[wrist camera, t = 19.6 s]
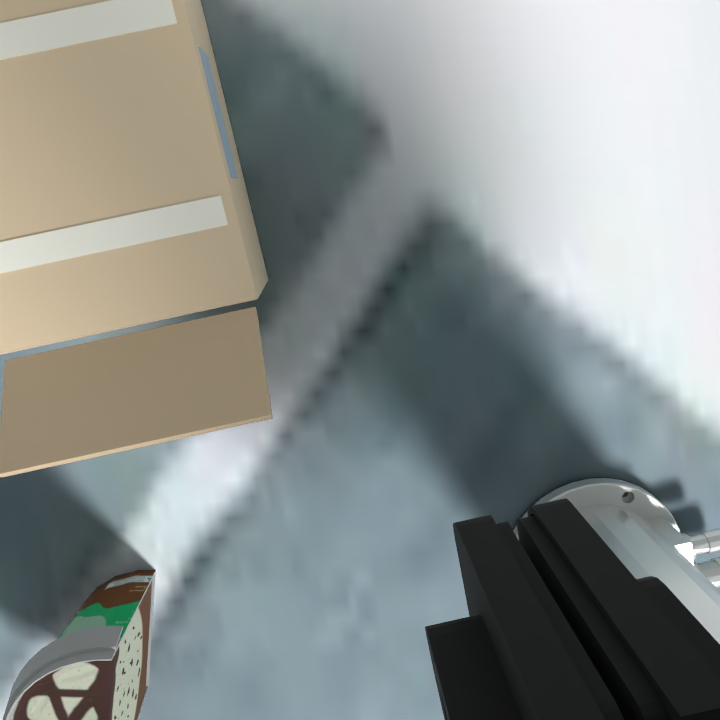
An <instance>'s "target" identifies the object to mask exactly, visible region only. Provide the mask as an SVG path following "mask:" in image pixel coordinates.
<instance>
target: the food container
mask: <svg viewBox="0 0 720 720" xmlns="http://www.w3.org/2000/svg"><path fill="white" fill-rule="evenodd" d="M155 572H156V570H138V571H134V572H130V573H126V574H122V575H118V576H115V577H114V578H112V579H110V580H109V581H107V582H105V583H104V584H102V585H100V586H99V587H97V589H96V590H95V591H94V592H93V593H92V594H91V596H90V597H89V598H88V599H87V600H86V601H85V603H84V604H83V606H82V607H81V608H80V610H79V611H78V612H77V614H76V615H75V617H74V618H73V619H72V621H71V622H70V623H69V625H68V626H67V628H66V629H65V630H64V632H63V633H62V634H61V636H60V637H59V639H57V640H55V641H54V642H52V643H50V644H49V645H47V646H46V647H44V648H43V649H41V650H40V651H39V652H38V653H37V654H36V655H34V656H33V657H32V658H31V659H30V660H29V661H28V663H27V664H26V665H25V666H24V668H23V669H22V670H21V671H20V673H19V675H18V677H17V679H16V681H15V683H14V685H13V687H12V691H11V694H10V697H9V701H8V704H7V707H6V711H5V714H4V717H3V720H138V719H139V716H140V713H141V709H142V706H143V703H144V700H145V697H146V693H147V690H148V686H149V670H150V654H151V637H152V621H153V605H154V588H155Z"/></svg>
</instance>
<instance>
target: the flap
mask: <svg viewBox="0 0 720 720" xmlns="http://www.w3.org/2000/svg"><path fill="white" fill-rule="evenodd" d="M267 419H272V411H271V404H270V397H269V390H268V383H267V376H266V369H265V363H264V356H263V349H262V342H261V335H260V328H259V321H258V314H257V310H256V307H251V308H246V309H242V310H237V311H233V312H228V313H223V314H219V315H214V316H209V317H205V318H200V319H195V320H191V321H186V322H181V323H177V324H172V325H168V326H163V327H158V328H154V329H149V330H144V331H140V332H135V333H130V334H126V335H121V336H116V337H112V338H107V339H102V340H98V341H93V342H89V343H84V344H79V345H75V346H70V347H65V348H61V349H56V350H51V351H47V352H42V353H37V354H33V355H28V356H24V357H19V358H14V359H10V360H5V371H4V384H3V396H2V409H1V422H0V477H6V476H11V475H15V474H20V473H24V472H29V471H33V470H38V469H43V468H47V467H52V466H56V465H61V464H66V463H70V462H75V461H79V460H84V459H88V458H93V457H98V456H102V455H107V454H111V453H116V452H120V451H125V450H130V449H134V448H139V447H143V446H148V445H153V444H157V443H162V442H166V441H171V440H175V439H180V438H185V437H189V436H194V435H198V434H203V433H207V432H212V431H217V430H221V429H226V428H230V427H235V426H240V425H244V424H249V423H253V422H258V421H262V420H267Z"/></svg>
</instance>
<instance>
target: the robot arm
mask: <svg viewBox="0 0 720 720" xmlns="http://www.w3.org/2000/svg"><path fill="white" fill-rule="evenodd" d="M453 528H454V535H455V541H456V546H457V552H458V557H459V562H460V567H461V573H462V578H463V583H464V589H465V594H466V599H467V605H468V610H469V615H470V617H466V618H462V619H457V620H453V621H449V622H444V623H440V624H435V625H431V626H426V627H425V630H426V635H427V640H428V645H429V650H430V655H431V659H432V664H433V669H434V674H435V678H436V683H437V688H438V692H439V696H440V701H441V705H442V710H443V714H444V718H445V720H720V590H719V589H718V587H720V557H718V558H714V559H711V560H710V561H706V562H702V563H697V564H696V563H695V562H694V560H695V557H696V555H698V554H703V553H712V552H717V551H720V529H714V530H710V531H705V532H701V533H700V534H697V535H692V536H688V535H687V534H686V533H680V529H679V527H678V525H677V523H676V521H675V519H674V517H673V515H672V514H671V513H670V512H669V511H668V509H667V508H666V507H665V506H664V505H663V504H662V503H661V502H660V501H659V500H658V499H657V498H656V497H654V496H653V495H652V494H651V493H649V492H648V491H646V490H644V489H643V488H641V487H639V486H637V485H635V484H632V483H629V482H626V481H623V480H617V479H610V478H592V479H585V480H581V481H576V482H572V483H569V484H567V485H565V486H562V487H560V488H557V489H555V490H554V491H552V492H550V493H549V494H547V495H546V496H544V497H542V498H541V499H540V500H539V501H537V502H536V503H535V504H534V505H533V506H529V507H528V510H527V512H526V513H525V514H524V515H523V517H522V518H521V519H518V520H517V525H516V527H515V529H514V530H512V528H511V527H510V525H509V524H508V522H503V523H498V524H496V523H495V522H494V520H493V518H492V517H491V515H488V516H483V517H479V518H474V519H470V520H465V521H461V522H456V523H453Z"/></svg>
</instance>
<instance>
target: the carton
mask: <svg viewBox="0 0 720 720" xmlns="http://www.w3.org/2000/svg"><path fill="white" fill-rule="evenodd" d="M267 282H268V276H267V272H266V268H265V264H264V260H263V255H262V251H261V247H260V243H259V239H258V235H257V231H256V227H255V222H254V218H253V214H252V210H251V206H250V202H249V198H248V193H247V189H246V185H245V181H244V177H243V173H242V169H241V165H240V160H239V156H238V152H237V148H236V144H235V140H234V136H233V132H232V127H231V123H230V119H229V115H228V111H227V107H226V103H225V98H224V94H223V90H222V86H221V82H220V78H219V74H218V70H217V65H216V61H215V57H214V53H213V49H212V45H211V41H210V36H209V32H208V28H207V24H206V20H205V16H204V12H203V8H202V3H201V0H0V355H1V354H6V353H10V352H15V351H20V350H24V349H29V348H34V347H38V346H43V345H48V344H52V343H57V342H62V341H66V340H71V339H76V338H80V337H85V336H89V335H94V334H99V333H103V332H108V331H113V330H117V329H122V328H127V327H131V326H136V325H141V324H145V323H150V322H155V321H159V320H164V319H168V318H173V317H178V316H182V315H187V314H192V313H196V312H201V311H206V310H210V309H215V308H220V307H224V306H229V305H234V304H238V303H243V302H247V301H252V300H257V299H258V298H259V296H260V294H261V292H262V290H263V289H264V287H265V285H266V283H267Z"/></svg>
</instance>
